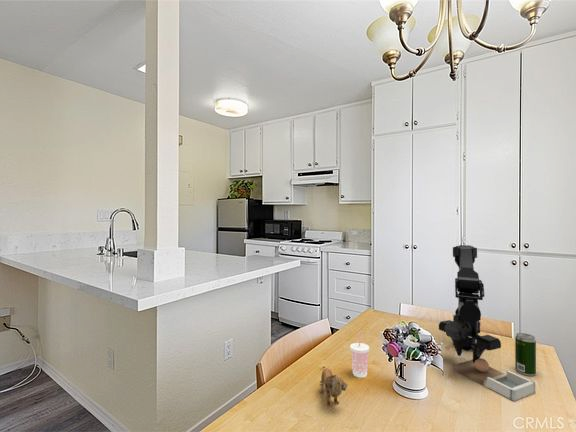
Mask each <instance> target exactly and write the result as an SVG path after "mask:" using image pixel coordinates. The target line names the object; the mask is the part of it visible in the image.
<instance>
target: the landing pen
mask: <svg viewBox="0 0 576 432" xmlns="http://www.w3.org/2000/svg"><path fill="white" fill-rule="evenodd" d="M506 374H507V380H505V381H502V382H498V381H496V380H494V379H492V378H490V377H487V387H486V388H487V389H489V390H491V391H493V392H494V393H496V394H498V395H501V396H503V397H505V398H506V399H508V400H511V401H512V402H515V401H518V400H521V399H523V398H526V397H528V396H530V395H534V394H536V382H535V381H532V380H531V379H528V378H526V377H524V376H522V375H519V374H517V373H514V372H512V371H510V370H507V371H506Z"/></svg>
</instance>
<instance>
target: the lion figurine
mask: <svg viewBox="0 0 576 432" xmlns="http://www.w3.org/2000/svg"><path fill="white" fill-rule="evenodd" d="M319 382H320V383H321V386H320V387H321V389H320V391H319V393H320V394H322V395H323V394H325V397H326V404H325V405H326V406H327V407H328V408H329V407H331V405H332V403H331V398H333V402H334V405H339V404H340V401H339V400H338V397H340V395H341V394H342V392H346V390H347V389H348V386H349V385H348V383H346V382H345V381H344V379H342V376H341V375H340V374H333V371H332V370H331V369H330V368H327V367H325V368H324V369H322V373H321V380H320V381H319ZM324 390H325V391H324Z"/></svg>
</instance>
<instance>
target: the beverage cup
mask: <svg viewBox="0 0 576 432" xmlns="http://www.w3.org/2000/svg"><path fill="white" fill-rule="evenodd" d="M350 351H351V364H352V374H354V375H353V376H354V377H357V378H360V379H361V378H366V377H367V376H368V366H369V365H368V362H369V351H370V346H369V345H368V344H366V343H363V342H361V331H358V342H354V343H351V344H350Z"/></svg>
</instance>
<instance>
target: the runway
mask: <svg viewBox="0 0 576 432" xmlns="http://www.w3.org/2000/svg"><path fill="white" fill-rule="evenodd" d="M452 370H453V371H455V372H457V373H459V374H461V376H462V375H463V376H465V377H467V378H468V379H470V380H472V381H473V382H476V383H478V384H480V385H482V386H483V387H485V388H487V377H490V378H492V379H494V380H496V381H498V382H502V381H505V380H507V373H504V372H502V371H500V370H497V369H495V368H493V367H491V366H489V369H488V371H486V372H481V371H479V370H477V369H476V367H475V364H474V363H473V359H470V360H466V361H462V362H459V363H456V364H453V365H452Z"/></svg>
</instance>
